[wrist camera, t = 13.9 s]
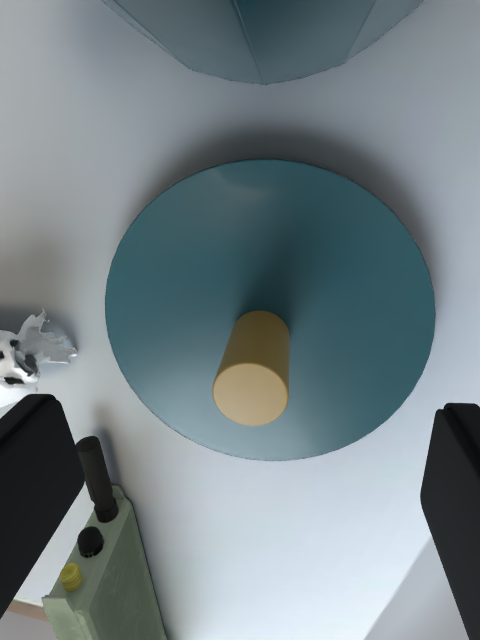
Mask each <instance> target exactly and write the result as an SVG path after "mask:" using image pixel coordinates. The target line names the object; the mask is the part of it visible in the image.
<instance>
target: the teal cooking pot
mask: <svg viewBox="0 0 480 640" xmlns="http://www.w3.org/2000/svg"><path fill="white" fill-rule="evenodd" d="M101 1H102V2H104V3H105V4H106V5H107V6H108V7H109V8H111V9H112V10H113V11H114V12H115V13H117V14H118V15H119V16H120V17H121V18H123V19H124V20H125V21H126V22H127V23H129V24H130V25H131V26H133V27H134V28H135V29H137V30H138V31H139V32H141V33H142V34H143V35H145V36H146V37H147V38H149V39H150V40H151V41H153V42H154V43H155V44H157V45H158V46H159V47H160V48H162V49H163V50H164V51H166V52H167V53H169V54H170V55H171V56H173V57H174V58H175V59H177V60H178V61H179V62H181V63H182V64H183V65H185V66H186V67H187V68H189V69H191V70H193V71H197V72H202V73H206V74H208V75H212V76H215V77H219V78H222V79H226V80H229V81H237V82H245V83H253V84H254V83H256V84H261V85H268V84H271V83H279V82H284V81H290V80H295V79H301V78H304V77H307V76H310V75H313V74H316V73H319V72H322V71H325V70H327V69H329V68H332V67H336V66H340V65H342V64H344V63H345V62H346V61H348V60H349V59H350V58H352V57H353V56H354V55H356V54H357V53H359V52H360V51H362V50H363V49H365V48H366V47H368V46H369V45H371V44H372V43H374V42H375V41H377V40H378V39H379V38H380V37H381V36H383V35H384V34H385V33H386V32H387V31H388V30H390V29H391V28H392V27H393V26H394V25H395V24H397V23H398V22H399V21H400V20H402V19H403V18H404V17H405V16H407V15H408V14H409V13H411V12H412V11H413V10H415V9H416V8H417V7H418V6H419V5H420V4H421V3H422V2H423V1H424V0H101Z"/></svg>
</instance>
